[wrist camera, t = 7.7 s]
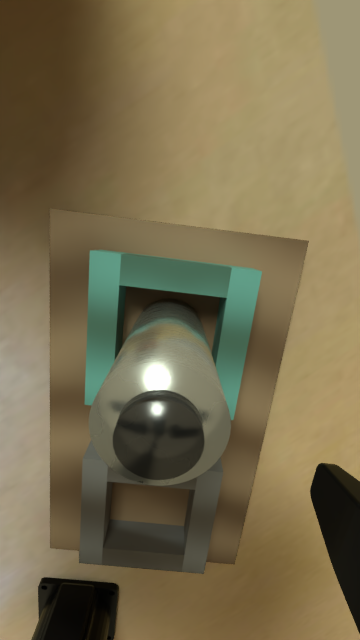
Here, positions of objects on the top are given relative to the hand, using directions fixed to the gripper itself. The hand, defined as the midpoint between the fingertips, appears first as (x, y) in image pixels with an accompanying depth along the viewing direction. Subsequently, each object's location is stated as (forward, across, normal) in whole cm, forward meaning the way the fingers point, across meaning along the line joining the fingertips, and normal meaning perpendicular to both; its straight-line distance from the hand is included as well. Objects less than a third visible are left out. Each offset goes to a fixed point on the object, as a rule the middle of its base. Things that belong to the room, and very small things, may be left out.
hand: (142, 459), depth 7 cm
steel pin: (+10, 0, 0) cm, 10 cm away
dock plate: (+11, 0, +6) cm, 12 cm away
